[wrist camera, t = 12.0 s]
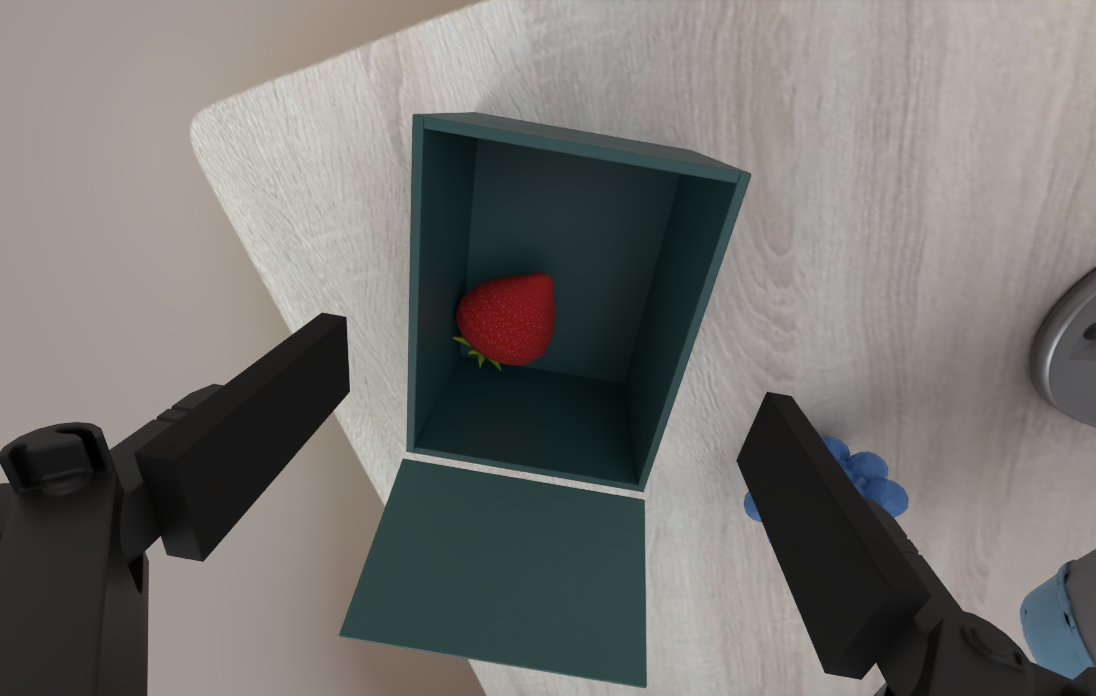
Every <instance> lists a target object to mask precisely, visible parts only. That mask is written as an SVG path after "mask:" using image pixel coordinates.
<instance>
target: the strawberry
mask: <svg viewBox="0 0 1096 696" xmlns="http://www.w3.org/2000/svg"><path fill="white" fill-rule="evenodd" d="M455 315H456V321H457V324H458V327H459V329H460V332H461V334H462V335H463V337H454V338H453V339H455V340H457V341H459V342H461V343H464V344H466V345H468V346H470V347H472V349H471V350H470V351H469V354H477V356H478V362H479V368H480V367H481V365H482V364H483V362H484V360H485V358H486V357H487V358H488V359H489V360H490V361H491V362H492V363H493V364H494V365H495V366H496V367H497V368H498V369H499V370H500V371H501V367H500V364H499V363H502V364H508V365H526V364H528V363H531V362H532V361H534V360H536V359H537V358H539V357H540V356H542V355H543V354H544V353H545V351H546V349H547V346H548V344H549V342H550V340H551V338H552V336H553V333H554V320H555V304H554V283H553V280H552V279H551V277H550V276H549V275H547V274H545V273H542V272H536V273H532V274H526V275H515V276H507V277H503V278H498V279H494V280H490V281H485V282H483V283H481V284H480V285H478V286H477V287H475V288H474V289H472V290H471V291H469V292H468V293H466V294H465V295H464V296H463V297H462V298H461V300H460V303H459V305H458V308H457V310H456V314H455Z"/></svg>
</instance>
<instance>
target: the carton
mask: <svg viewBox="0 0 1096 696" xmlns="http://www.w3.org/2000/svg"><path fill="white" fill-rule="evenodd" d="M750 178H751V174H750V173H748V172H745V171H743V170H740V169H738V168H735V167H733V166H730V165H728V164H725V163H723V162H720V161H717V160H715V159H712V158H710V157H707V156H705V155H702V154H700V153H697V152H695V151H691V150H685V149H680V148H674V147H668V146H663V145H657V144H651V143H646V142H640V141H634V140H629V139H623V138H617V137H612V136H606V135H600V134H595V133H589V132H583V131H578V130H572V129H566V128H561V127H555V126H549V125H544V124H538V123H532V122H527V121H521V120H515V119H510V118H504V117H498V116H493V115H487V114H481V113H476V112H468V113H437V114H413V127H412V181H411V234H410V288H409V341H408V395H407V448H406V451H407V452H411V453H417V454H423V455H429V456H435V457H440V458H446V459H452V460H458V461H464V462H470V463H476V464H481V465H487V466H493V467H499V468H505V469H511V470H517V471H522V472H528V473H534V474H540V475H546V476H552V477H558V478H564V479H569V480H575V481H581V482H587V483H593V484H599V485H605V486H610V487H616V488H622V489H628V490H634V491H640V492H644V489H645V486H646V483H647V480H648V477H649V474H650V472H651V469H652V466H653V463H654V460H655V457H656V454H657V451H658V448H659V445H660V442H661V439H662V436H663V433H664V430H665V427H666V425H667V422H668V419H669V416H670V413H671V410H672V407H673V404H674V401H675V398H676V395H677V392H678V389H679V386H680V383H681V380H682V377H683V375H684V372H685V369H686V366H687V363H688V360H689V357H690V354H691V351H692V348H693V345H694V342H695V339H696V336H697V333H698V330H699V328H700V325H701V322H702V319H703V316H704V313H705V310H706V307H707V304H708V301H709V298H710V295H711V292H712V289H713V286H714V283H715V281H716V278H717V275H718V272H719V269H720V266H721V263H722V260H723V257H724V254H725V251H726V248H727V245H728V242H729V239H730V236H731V234H732V231H733V228H734V225H735V222H736V219H737V216H738V213H739V210H740V207H741V204H742V201H743V198H744V195H745V192H746V189H747V187H748V184H749V181H750ZM536 272H542V273H545V274H547V275H549V276H550V277H551V279H552V280H553V283H554V304H555V320H554V333H553V336H552V338H551V340H550V342H549V344H548V346H547V349H546V351H545V353H544V354H543V355H542V356H540V357H539V358H537V359H536V360H534V361H532V362H531V363H528V364H526V365H508V364H502V363H499V364H500V367H501V371H500V370H499V369H498V368H497V367H496V366H495V365H494V364H493V363H492V362H491V361H490V360H489V359H488V358H487V357H486V358H485V360H484V362H483V364H482V365H481V367H480V368H479V362H478V356H477V354H469V351H470V350H471V349H472V347H470V346H468V345H466V344H464V343H461V342H459V341H457V340H455V339H453V338H454V337H463V335H462V334H461V332H460V329H459V327H458V324H457V321H456V315H455V314H456V310H457V308H458V305H459V303H460V300H461V298H462V297H463V296H464V295H465V294H466V293H468V292H469V291H471V290H472V289H474V288H475V287H477V286H478V285H480V284H481V283H483V282H485V281H490V280H494V279H498V278H503V277H507V276H515V275H526V274H532V273H536Z"/></svg>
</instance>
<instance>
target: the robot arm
mask: <svg viewBox="0 0 1096 696" xmlns="http://www.w3.org/2000/svg"><path fill="white" fill-rule="evenodd" d="M1030 374H1031V378H1032V382H1033V384H1034V386H1035V388H1036V390H1037V391H1038V393H1039V394H1040V395H1041V397H1042V398H1043V399H1044V400H1046V401H1047V402H1048V403H1049V404H1051V405H1052V406H1054V407H1055V408H1057V409H1059V410H1060V411H1062V412H1063V413H1065V414H1066V415H1068V416H1070V417H1071V418H1073V419H1075V420H1077V421H1079V422H1081V423H1084V424H1087V425H1090V426H1093V427H1096V270H1095V271H1094V272H1092V273H1091V274H1090V275H1088V276H1087V277H1086V278H1084V279H1083V280H1082V281H1081V282H1080V283H1078V284H1077V285H1076V286H1075V287H1074V288H1073V289H1072V290H1071V291H1070V292H1069V293H1068V294H1066V295H1065V296H1064V298H1063V299H1062V300H1061V301H1060V302H1059V303H1058V304H1057V305H1056V307H1055V308H1054V309H1053V310H1052V312H1051V313H1050V314H1049V316H1048V317H1047V319H1046V320H1045V322H1044V323H1043V325H1042V327H1041V329H1040V330H1039V332H1038V334H1037V337H1036V339H1035V342H1034V345H1033V348H1032V352H1031V357H1030ZM349 392H350V382H349V361H348V341H347V320H346V317H344V316H338V315H333V314H327V313H321V314H319V315H318V316H317V317H315V318H314V319H313V320H311V321H310V322H309V323H307V324H306V325H305V326H303V327H302V328H301V329H299V330H298V331H297V332H295V333H294V334H293V335H291V336H290V337H288V338H287V339H286V340H284V341H283V342H282V343H280V344H279V345H278V346H277V347H275V348H274V349H272V350H271V351H270V352H268V353H267V354H266V355H264V356H263V357H262V358H261V359H259V360H258V361H256V362H255V363H254V364H252V365H251V366H250V367H248V368H247V369H246V370H244V371H243V372H242V373H241V374H239V375H238V376H236V377H235V378H234V379H232V380H231V381H230V382H228V383H227V384H225V385H224V386H223V385H218V384H212V385H210V386H208V387H205V388H202V389H200V390H197V391H195V392H192V393H190V394H189V395H187V396H186V397H184V398H183V399H181V400H180V401H179V402H177V403H176V404H174V405H173V406H172V408H171V409H167V410H166V411H164V412H163V413H162V414H160V415H159V416H157V419H156V420H154V419H153V420H152V421H150V422H149V423H147V424H146V425H144V426H143V427H142V428H140V429H139V430H137V431H136V432H135V433H133V434H132V435H130V436H129V437H128V438H126V439H125V440H123V441H122V442H120V443H119V444H117V445H116V446H115V447H113V448H112V449H110V450H109V449H108V446H107V443H106V440H105V438H104V435H103V432H102V429H101V428H100V427H98V426H96V425H94V424H91V423H81V422H73V423H63V424H56V425H52V426H48V427H44V428H40V429H37V430H34V431H32V432H30V433H27V434H25V435H23V436H20V437H18V438H17V439H15V440H14V441H12V442H11V443H9V444H7V445H6V446H5V447H4V448H3V449H2V450H1V451H0V464H1V466H2V468H3V470H4V472H5V474H6V476H7V478H8V480H9V482H10V483H3V484H0V696H147V675H148V674H147V673H148V672H147V671H148V668H147V667H148V585H149V583H148V582H149V561H148V558H147V556H146V553H145V551H146V550H147V548H149V547H150V546H151V545H152V544H153V543H154V542H155V541H156V540H157V539H158V538H159V537H160V536H161V538H162V541H163V544H164V547H165V550H166V553H167V555H169V556H174V557H180V558H185V559H191V560H197V561H202V562H203V561H204V560H205V559H206V558H207V557H208V556H209V554H210V553H211V552H212V551H213V550H214V549H215V548H216V546H217V545H218V544H219V543H220V542H221V540H222V539H223V538H224V537H225V536H226V535H227V534H228V532H229V531H230V530H231V529H232V528H233V527H234V525H235V524H236V523H237V522H238V521H239V520H240V519H241V517H242V516H243V515H244V514H245V513H246V512H247V510H248V509H249V508H250V507H251V506H252V505H253V503H254V502H255V501H256V500H257V499H258V498H259V496H260V495H261V494H262V493H263V492H264V491H265V490H266V488H267V487H268V486H269V485H270V484H271V482H272V481H273V480H274V479H275V478H276V477H277V476H278V474H279V473H280V472H281V471H282V470H283V469H284V467H285V466H286V465H287V464H288V463H289V462H290V461H291V459H292V458H293V457H294V456H295V455H296V453H297V452H298V451H299V450H300V449H301V448H302V447H303V445H304V444H305V443H306V442H307V441H308V440H309V438H310V437H311V436H312V435H313V434H314V433H315V432H316V430H317V429H318V428H319V427H320V425H322V423H323V422H324V421H325V420H326V419H327V417H328V416H329V415H330V414H331V413H332V412H333V411H334V409H335V408H336V407H337V406H338V405H339V404H340V403H341V401H342V400H343V399H344V398H345V397H346V396H347V394H348V393H349ZM736 461H737V463H738V466H739V468H740V470H741V473H742V475H743V478H744V480H745V482H746V485H747V487H748V490H749V492H750V494H751V497H752V499H753V502H754V504H755V506H756V509H757V511H758V514H759V516H760V518H761V521H762V523H763V526H764V528H765V530H766V533H767V535H768V538H769V540H770V542H771V545H772V547H773V550H774V552H775V554H776V557H777V559H778V562H779V564H780V566H781V569H782V571H783V574H784V576H785V578H786V581H787V583H788V586H789V588H790V590H791V593H792V595H793V598H794V600H795V602H796V605H797V607H798V610H799V612H800V614H801V617H802V619H803V622H804V624H805V626H806V629H807V631H808V634H809V636H810V638H811V641H812V643H813V646H814V648H815V650H816V653H817V655H818V658H819V660H820V662H821V665H822V667H823V670H824V672H825V673H827V674H832V675H838V676H843V677H849V678H854V679H860V680H862V678H863V677H864V676H865V675H866V674H867V673H868V671H869V670H870V669H871V668H872V667H873V665H874V664H875V663H877V665H878V667H879V669H880V671H881V673H882V675H883V677H884V679H885V681H886V682H885V684H884V685H883V686H882V687H881V688H880V689H879V690H878V691H877V693H876V694H875V695H874V696H1096V549H1095V550H1093V551H1092V552H1090V553H1088V554H1086V555H1085V556H1083V557H1081V558H1080V559H1078V560H1072V561H1069V562H1067V563H1066V564H1063V565H1062V566H1061V567H1060V569H1059V571H1058V572H1057V574H1055V575H1054V576H1053V577H1051V578H1050V579H1049V580H1047V581H1046V582H1045V583H1043V584H1042V585H1040V586H1039V587H1037V588H1036V589H1034V590H1033V591H1032V592H1030V593H1029V594H1028V595H1027V596H1026V597H1025V599H1024V600H1023V602H1022V605H1021V608H1020V620H1021V623H1022V630H1023V634H1024V637H1025V640H1026V642H1027V644H1028V647H1029V649H1030V651H1031V653H1032V655H1033V657H1034V659H1035V661H1036V662H1037V664H1038V665H1037V664H1035V663H1032V662H1030V661H1029V659H1028V658H1027V657H1026V655H1025V654H1024V652H1023V651H1022V650H1021V648H1020V647H1019V646H1018V645H1017V644H1016V643H1015V642H1014V641H1013V640H1012V639H1011V638H1010V637H1009V636H1008V635H1006V634H1005V633H1004V632H1002V631H1001V630H1000V629H998V628H997V627H996V626H994V625H993V624H991V623H990V622H988V621H986V620H984V619H982V618H980V617H978V616H977V615H975V614H972V613H968V612H965V611H963V610H962V609H961V608H960V606H959V605H958V604H957V602H956V601H955V599H954V598H953V597H952V595H951V594H950V593H949V591H948V590H947V589H946V587H945V586H944V585H943V583H942V582H941V581H940V579H939V578H938V577H937V575H936V574H935V573H934V571H933V570H932V569H931V567H930V566H929V565H928V563H927V562H926V561H925V559H924V558H923V557H922V555H919V554H918V550H917V548H916V547H915V546H914V544H913V543H912V542H911V540H909V539H907V535H906V534H905V532H904V531H903V530H902V528H901V527H900V526H899V524H898V523H897V522H896V520H895V519H894V518H893V517H892V516H891V515H890V514H889V513H888V512H886V511H885V510H884V509H883V508H882V507H881V506H880V505H878V504H877V503H876V502H875V501H874V500H870V499H864V498H863V497H862V495H861V494H860V493H859V491H858V490H857V488H856V487H855V486H854V484H853V483H852V481H851V480H850V478H849V477H848V476H847V474H846V473H845V471H844V470H843V469H842V467H841V466H840V464H839V463H838V461H837V460H836V459H835V457H834V456H833V454H832V453H831V452H830V450H829V449H828V447H827V446H826V444H825V443H824V442H823V440H822V439H821V437H820V436H819V434H818V433H817V432H816V430H815V429H814V427H813V426H812V425H811V423H810V422H809V420H808V419H807V417H806V416H805V415H804V413H803V412H802V410H801V409H800V408H799V406H798V405H797V403H796V402H795V400H794V399H793V398H792V396H788V395H782V394H777V393H771V392H767V393H766V395H765V397H764V399H763V402H762V404H761V406H760V408H759V411H758V413H757V415H756V417H755V420H754V422H753V424H752V426H751V429H750V431H749V433H748V435H747V438H746V440H745V442H744V444H743V447H742V449H741V451H740V453H739V456H738V458H737V460H736Z"/></svg>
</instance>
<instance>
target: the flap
mask: <svg viewBox="0 0 1096 696" xmlns="http://www.w3.org/2000/svg"><path fill="white" fill-rule="evenodd" d="M339 636H340V637H341V638H347V639H353V640H359V641H366V642H371V643H377V644H383V645H389V646H395V647H401V648H407V649H413V650H419V651H425V652H431V653H437V654H443V655H449V656H455V657H461V658H467V659H473V660H479V661H485V662H491V663H497V664H503V665H509V666H514V667H520V668H526V669H532V670H538V671H544V672H550V673H556V674H562V675H568V676H574V677H580V678H586V679H592V680H598V681H604V682H610V683H616V684H622V685H628V686H634V687H640V688H646V687H647V672H646V579H645V500H643V499H637V498H631V497H625V496H619V495H613V494H608V493H602V492H596V491H590V490H584V489H578V488H572V487H566V486H561V485H555V484H549V483H543V482H537V481H531V480H525V479H520V478H514V477H508V476H502V475H496V474H490V473H484V472H478V471H473V470H467V469H461V468H455V467H449V466H443V465H437V464H431V463H426V462H420V461H414V460H408V459H403V460H402V462H401V465H400V468H399V471H398V473H397V476H396V479H395V482H394V484H393V487H392V490H391V493H390V496H389V498H388V501H387V504H386V507H385V510H384V512H383V515H382V518H381V520H380V523H379V526H378V529H377V532H376V534H375V537H374V540H373V543H372V545H371V548H370V551H369V554H368V557H367V559H366V562H365V565H364V568H363V570H362V573H361V576H360V579H359V581H358V584H357V587H356V590H355V593H354V595H353V598H352V601H351V603H350V606H349V609H348V612H347V615H346V617H345V620H344V623H343V626H342V629H341V631H340V634H339Z"/></svg>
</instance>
